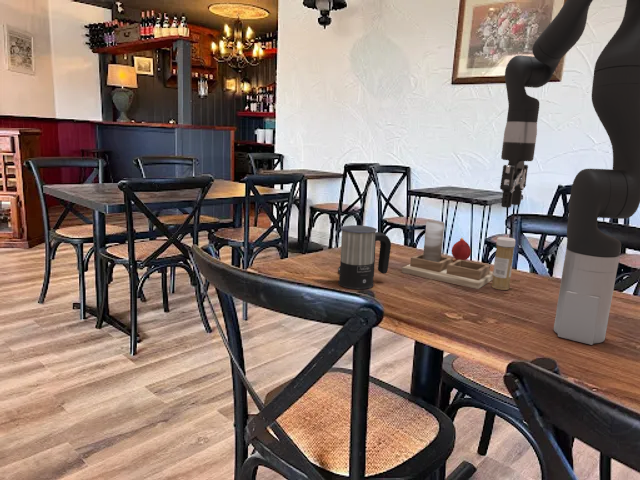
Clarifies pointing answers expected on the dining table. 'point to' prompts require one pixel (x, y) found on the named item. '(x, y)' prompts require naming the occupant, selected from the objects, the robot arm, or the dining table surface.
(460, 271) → the wooden condiment tray
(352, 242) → the milk frother
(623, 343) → the dining table surface
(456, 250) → the onion
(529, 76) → the robot arm
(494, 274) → the sprinkles bottle
